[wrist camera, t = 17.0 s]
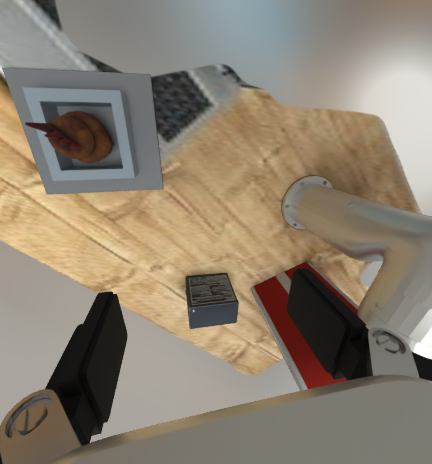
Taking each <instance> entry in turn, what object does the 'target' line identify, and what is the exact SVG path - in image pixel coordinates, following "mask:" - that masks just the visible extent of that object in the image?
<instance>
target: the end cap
mask: <svg viewBox="0 0 432 464" xmlns="http://www.w3.org/2000/svg"><path fill="white" fill-rule="evenodd" d="M2 69H3V72H4V75H5V77H6V80H7V83H8V86H9V89H10V92H11V94H12V97H13V100H14V103H15V106H16V109H17V111H18V114H19V117H20V120H21V123H22V126H23V128H24V131H25V134H26V137H27V140H28V143H29V145H30V148H31V151H32V154H33V157H34V160H35V162H36V165H37V168H38V171H39V174H40V177H41V179H42V182H43V185H44V188H45V191H46V193H47V194H68V193H90V192H111V191H133V190H155V189H163V180H162V171H161V162H160V153H159V145H158V136H157V127H156V118H155V109H154V100H153V91H152V82H151V75H150V74H133V73H132V74H131V73H110V72H88V71H65V70H43V69H20V68H2ZM72 111H82V112H85V113H88V114H92V115H94V116H95V117H96V118H97V119H98V120H99V121H100V122H101V123H102V125H103V126H104V127H105V129H106V130H107V132H108V133H109V135H110V137H111V140H112V142H113V148H112V152H111V153H110V154H109V155H108V156H107V157H106V158H104V159H103V160H101V161H99V162H97V163H85V162H82V161H79V160H77V159H72V158H69V157H66V156H64V155H62V154H60V153H59V152H57V151H56V150H55V149H54V148H53V147H52V146H51V144H50V142H49V140H48V138H47V137H45V136H44V135H45V134H47V133H46V132H43V131H41V130H38V129H35V128H32V127H29V126H27V125H25V123H26V122H30V123H49V121H50V120H51V119H53V118H55V117H57V116H61V115H63V114H66V113H67V112H72Z"/></svg>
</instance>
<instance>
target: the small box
mask: <svg viewBox="0 0 432 464" xmlns="http://www.w3.org/2000/svg"><path fill="white" fill-rule="evenodd" d="M185 279H186V296H187V305H188V316H189V326H190V329H194V328H201V327H208V326H216V325H223V324H231V323H236V322H237V315H238V306H239V302H238V300H237V298H236V295H235V293H234V290H233V288H232V285H231V283H230V280H229V278H228V274H227V273H221V274H210V275H198V276H187V277H186V278H185Z"/></svg>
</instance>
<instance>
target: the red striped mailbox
mask: <svg viewBox="0 0 432 464" xmlns="http://www.w3.org/2000/svg"><path fill="white" fill-rule="evenodd" d="M299 268H308V269H309V270H310V271H312V272H313V273H314V274H315V275H316V276H317V277H318V278H319V279H320V280H321V281H322V282H323V283H324V284H325V285H326V286H327V287H328V288H329V289H330V290H331V291H332V292H333V293H334V294H335V295H336V296H337V297H339V298H340V299H341V300H342V301H343V302H344V303H345V304H346V305H347V306H348V307H349V308H350V309H351V310H352V311H353V312H354V313H355V314H356V315H357V316H358V308H359V306H358V305H356V304H355V303H354V302H353V301H352V300H351V299H350V298H349V297H348V296H346V295H345V294H344V293H343V292H342V291H341V290H340V289H339V288H338V287H337V286H335V285H334V284H333V283H332V282H331V281H330V280H329V279H328V278H327V277H326V276H324V275H323V274H322V273H321V272H320V271H319V270H318V269H317V268H316V267H314V266H313V265H312V264H311V263H310V262H309V261H307V262H304V263H302V264H300V265H298V266H296V267H294V268H292V269H289V270H287V271H285V272H282V273H280V274H278V275H276V276H275V277H272V278H270V279H268V280H266V281H264V282H262V283H260V284H258V285H255V286H254V287H252V288H251V291H252V293H253V295H254V297H255V299H256V302H257V304H258V306H259V308H260V310H261V313H262V315H263V317H264V319H265V322H266V324H267V326H268V328H269V330H270V332H271V334H272V336H273V338H274V340H275V342H276V343H277V345H278V347H279V349H280V351H281V353H282V355H283V357H284V359H285V361H286V363H287V365H288V367H289V369H290V371H291V373H292V375H293V377H294V379H295V381H296V383H297V385H298V387H299V389H300V391H303V390H307V389H311V388H316V387H320V386H325V385H329V384H334V383H338V382H343V381H347V379H346V378H342V379H337V380H334V379H333V378H332V376H331V375H330V373H327V372H326V371H325V370H324V368H323V367H322V365H321V364H320V362H319V361H318V359H317V358H316V356H315V355H314V353H313V352H312V350H311V348H310V347H309V345H308V344H307V342H306V341H305V339H304V338H303V336H302V335H301V333H300V332H299V330H298V329H297V327H296V326H295V324H294V322H293V321H292V319H291V318H290V316H289V315H288V313H287V302H288V297H289V291H290V286H291V280H292V275H293V272H295V270H296V269H299Z"/></svg>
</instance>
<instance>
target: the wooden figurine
mask: <svg viewBox="0 0 432 464" xmlns="http://www.w3.org/2000/svg"><path fill="white" fill-rule="evenodd" d="M25 125H27V126H29V127H32V128H35V129H38V130H41V131H43V132H46V133H47V134H45V135H44V136H45V137H47V138H48V140H49V142H50V144H51V146H52V147H53V148H54V149H55V150H56V151H57V152H59V153H60V154H62V155H64V156H66V157H69V158H72V159H77V160H79V161H82V162H85V163H97V162H99V161H101V160H103V159H104V158H106V157H107V156H108V155H109V154H110V153H111V152H112V148H113V142H112V140H111V137H110V135H109V133H108V132H107V130H106V129H105V127H104V126H103V125H102V123H101V122H100V121H99V120H98V119H97V118H96V117H95V116H94V115H92V114H88V113H85V112H82V111H72V112H67V113H66V114H63V115H61V116H57V117H55V118H53V119H51V120H50V121H49V123H30V122H26V123H25Z"/></svg>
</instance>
